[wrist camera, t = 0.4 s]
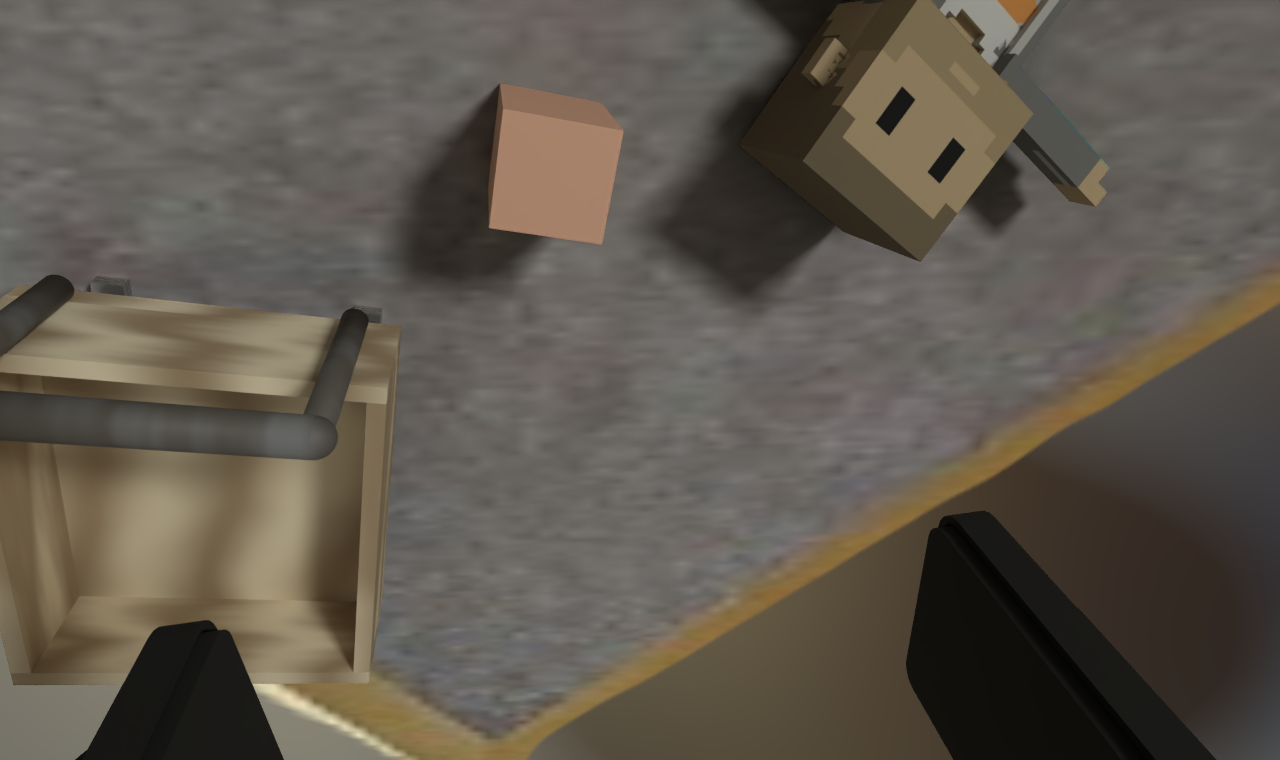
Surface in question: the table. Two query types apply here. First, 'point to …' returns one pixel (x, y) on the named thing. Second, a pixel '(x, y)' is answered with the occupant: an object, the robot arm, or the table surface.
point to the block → (552, 165)
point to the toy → (917, 116)
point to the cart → (191, 483)
